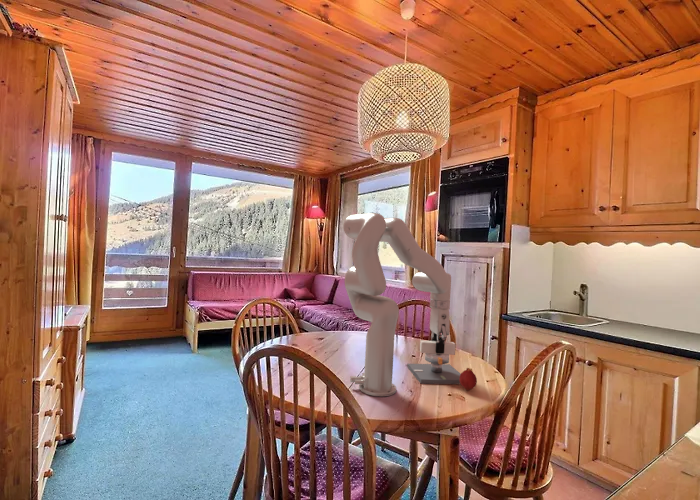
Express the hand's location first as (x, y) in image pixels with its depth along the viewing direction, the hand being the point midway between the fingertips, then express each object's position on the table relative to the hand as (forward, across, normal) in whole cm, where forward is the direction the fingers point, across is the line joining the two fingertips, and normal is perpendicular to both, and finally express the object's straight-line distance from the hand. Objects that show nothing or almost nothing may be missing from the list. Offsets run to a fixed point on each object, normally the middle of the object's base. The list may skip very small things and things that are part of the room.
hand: (437, 350), depth 139 cm
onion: (+10, -15, -6) cm, 19 cm away
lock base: (+10, 0, 0) cm, 10 cm away
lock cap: (+4, -1, 0) cm, 4 cm away
